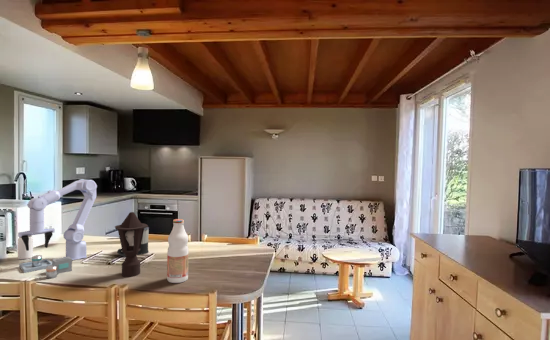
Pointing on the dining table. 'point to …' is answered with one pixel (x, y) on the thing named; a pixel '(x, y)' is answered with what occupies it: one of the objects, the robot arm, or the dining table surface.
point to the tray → (28, 267)
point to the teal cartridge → (36, 260)
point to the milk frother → (143, 244)
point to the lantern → (131, 243)
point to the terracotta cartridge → (51, 271)
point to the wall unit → (63, 264)
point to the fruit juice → (177, 253)
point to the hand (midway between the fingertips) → (36, 248)
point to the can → (22, 249)
